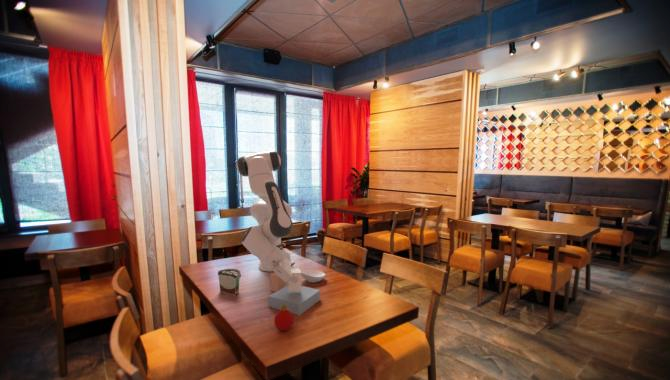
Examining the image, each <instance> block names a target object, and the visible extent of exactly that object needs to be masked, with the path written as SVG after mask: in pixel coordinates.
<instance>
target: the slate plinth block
mask: <svg viewBox="0 0 670 380" xmlns="http://www.w3.org/2000/svg"><path fill="white" fill-rule="evenodd" d="M267 297H268V298H267V299H268V307H269V308H273V309H275V308H276V310H278V311H280V310H281V306H283V303H284V305H285V306H287V310H288V311H290V312H291V313H294V314H293V315H295V314H297V315H296V316H299V315H300V314H301V315H302V314H304V313H305V312H306V311H308V310H309V309H310V308H311V306H312V307H313V306H314V305H315V303H316V304H317V303H318V302H319V300H320V301H321V289H317V288H313V287H308V286H304V285H301V291H290V292H289V284H287V286H285V287H284V288H282V289H280V290H278V291H277V292H273V293H271V294H270V295H268V296H267ZM307 309H308V310H307ZM303 312H304V313H303ZM301 315H300V316H301Z"/></svg>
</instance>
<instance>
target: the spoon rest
mask: <svg viewBox="0 0 670 380" xmlns="http://www.w3.org/2000/svg"><path fill="white" fill-rule="evenodd" d="M325 277H326V273H325V272H324V271H321V270H315V269H314V270H313V269H311V270H309V269H308V270H301V278H303V279H304V280H305V281H307V282H309V283H311V282H312V283H319V282H321V281H322V280H323V279H324V278H325ZM287 285H288V282H287V283H286V282H285V286H287Z"/></svg>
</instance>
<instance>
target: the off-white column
mask: <svg viewBox="0 0 670 380" xmlns="http://www.w3.org/2000/svg"><path fill="white" fill-rule="evenodd" d="M291 271H292V275H293V276H294V277H296V278H297V279H298V282H297V283H294V282H293V281H291V280H289V281H288V285H289V292H290V291H301V286H302V276H301V271H302V270H301V268H292V269H291Z"/></svg>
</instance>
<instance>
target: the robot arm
mask: <svg viewBox="0 0 670 380" xmlns="http://www.w3.org/2000/svg"><path fill="white" fill-rule="evenodd" d="M281 163H282V159H281V156H280V154H278V152H277V151H276V150H269V151H260V152H256V153H252V154H249V155H242V156H240V157H239V158H238V159H237V161H236V169H237V172H238V173H239V175H241V176H242V177H247V178H248V184H249V188H250V191H251V193H252V194H254V195H255V196H257V197H258V198H259V199H261V201H255V202H253V203H252V205H251V207H250V214H251V216H252V218H253V219H255V221H256V222H257V225H254V226H249V227H248V228H247V229H246V230H245V232H244V233H243V234H242V237H241V244H242V245H243V247H244V248H245V249H247V251H249V253H251V254H252V255H253V256H255V257H256V258H257V259H258V260H259V263H258V269H259V270H260V271H263V272H273V273H276V274H277V275H278V276H279V277H280V278H281V279H282V280H283V281H284V282H286V283H287V284H288V283H289V280H291V281H293V282H294V283H297V282H298V279H297V278H296V277H294V276H293V275H292V271H291V269H293V268H292V265H294V264H295V261H294V260H293V259H291V254H290V252H288V251H287V250H285V249H284V247H286V245H287V244H286V243H285V242H282V238H283V237H286V236H288V235H289V234H290V233H291V232H292V231H293V227H294V226H293V224H294V223H293V220H292V218H291V217H292V215H293V214H292V213H293V210H292V209H293V208H292V207H291V205H290V204H289V203H287V202H286V201H285V200H284V199H283V196H282V194H281V193H282V192H281V189H280V188H279V185H278V184H277V183H276V182H275V177H274V174H273V172H276V171H278V170H279V169H280V168H281Z"/></svg>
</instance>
